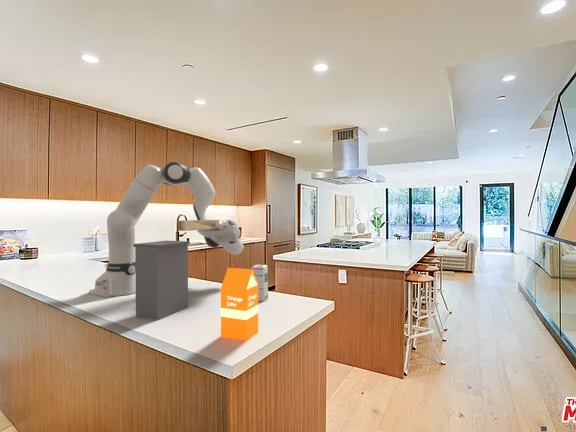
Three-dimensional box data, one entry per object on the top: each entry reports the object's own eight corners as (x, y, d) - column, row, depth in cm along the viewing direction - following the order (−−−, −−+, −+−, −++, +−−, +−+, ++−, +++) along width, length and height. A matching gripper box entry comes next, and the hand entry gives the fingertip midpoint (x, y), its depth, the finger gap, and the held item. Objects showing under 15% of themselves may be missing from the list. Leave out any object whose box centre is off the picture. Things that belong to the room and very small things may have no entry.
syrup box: (264, 301, 132) (264, 266, 132) (251, 300, 134) (251, 266, 134) (268, 297, 138) (268, 264, 138) (255, 297, 139) (255, 264, 139)
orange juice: (246, 341, 91) (246, 271, 91) (220, 336, 94) (220, 269, 94) (258, 331, 98) (258, 267, 98) (234, 327, 101) (233, 265, 101)
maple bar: (177, 230, 128) (177, 220, 128) (212, 228, 151) (212, 219, 151) (185, 230, 127) (185, 220, 127) (219, 228, 149) (219, 219, 149)
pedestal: (133, 316, 113) (133, 244, 113) (165, 304, 128) (165, 240, 128) (159, 320, 109) (159, 245, 109) (190, 307, 124) (189, 241, 123)
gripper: (208, 230, 162) (193, 217, 151) (243, 231, 155) (230, 217, 143) (204, 241, 159) (189, 229, 148) (240, 242, 152) (226, 229, 141)
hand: (209, 223), depth 146 cm, fingers closed on maple bar, 4 cm apart
